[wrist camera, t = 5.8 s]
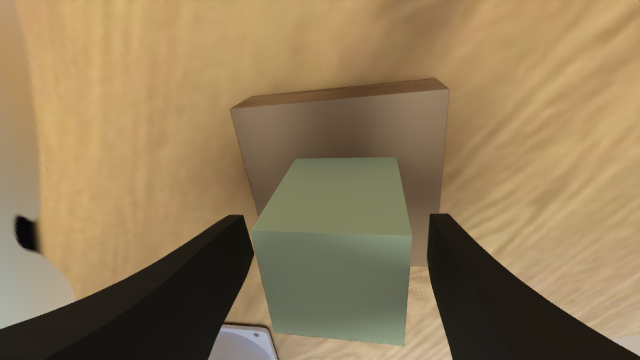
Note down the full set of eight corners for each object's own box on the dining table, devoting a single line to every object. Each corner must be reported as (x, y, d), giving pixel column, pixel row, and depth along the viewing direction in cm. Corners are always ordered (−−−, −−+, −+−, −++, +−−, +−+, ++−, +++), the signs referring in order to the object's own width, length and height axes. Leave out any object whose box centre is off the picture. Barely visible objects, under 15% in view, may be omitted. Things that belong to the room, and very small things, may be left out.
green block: (305, 237, 15) (274, 332, 10) (295, 158, 13) (250, 230, 8) (393, 240, 14) (404, 346, 9) (396, 156, 12) (412, 235, 7)
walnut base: (284, 230, 19) (271, 262, 17) (254, 94, 15) (229, 109, 12) (425, 230, 17) (434, 266, 15) (434, 76, 13) (449, 88, 11)
